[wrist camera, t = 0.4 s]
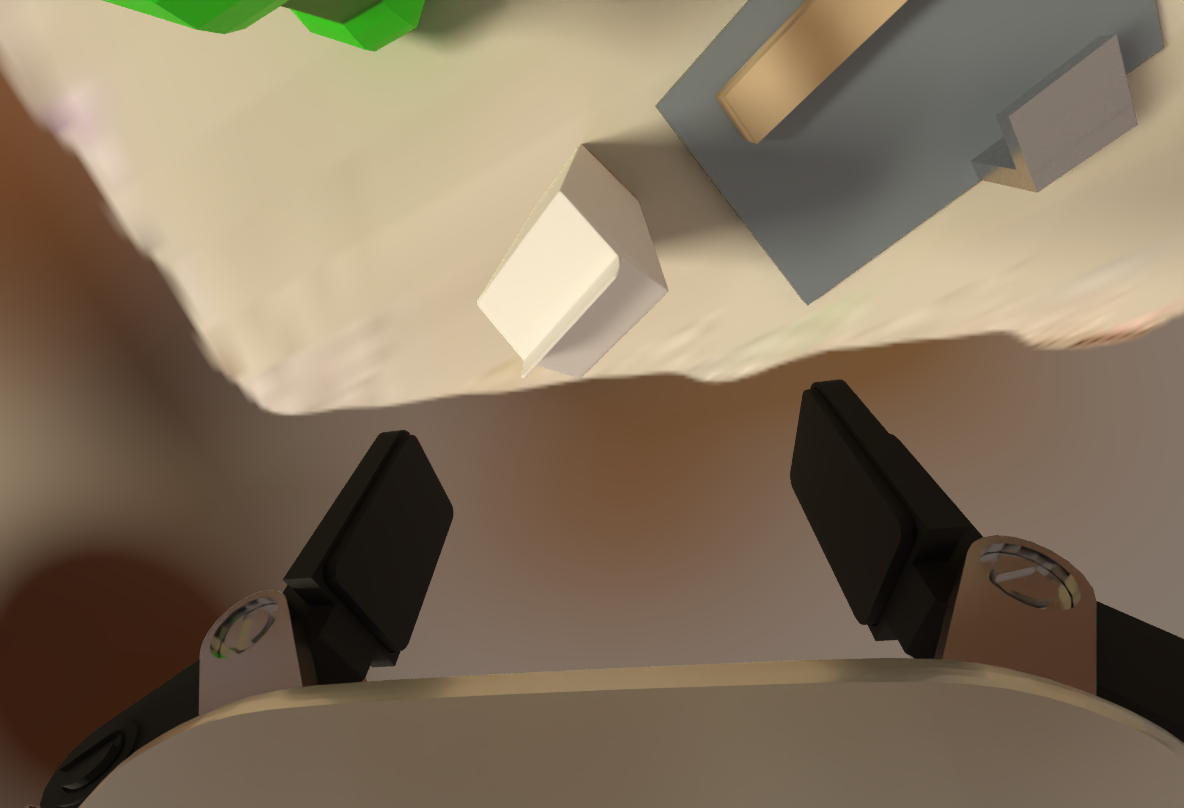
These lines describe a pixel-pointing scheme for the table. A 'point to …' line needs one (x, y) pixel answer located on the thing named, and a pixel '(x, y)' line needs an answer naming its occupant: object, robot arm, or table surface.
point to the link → (798, 60)
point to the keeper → (1061, 120)
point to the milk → (575, 272)
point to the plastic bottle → (322, 3)
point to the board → (883, 119)
